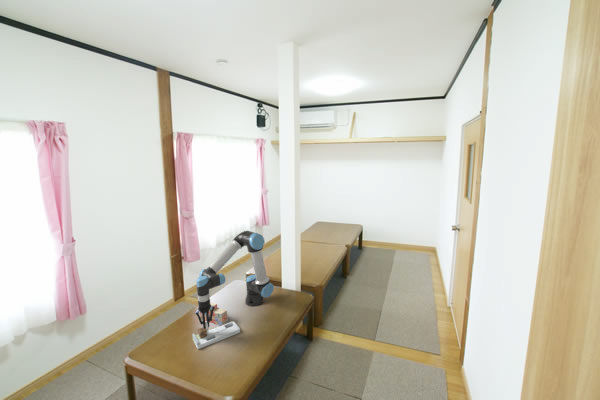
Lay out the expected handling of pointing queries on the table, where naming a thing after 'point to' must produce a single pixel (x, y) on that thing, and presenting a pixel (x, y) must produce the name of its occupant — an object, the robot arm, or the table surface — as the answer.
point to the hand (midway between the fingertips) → (206, 331)
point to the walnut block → (202, 332)
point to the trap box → (216, 334)
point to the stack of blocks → (217, 315)
